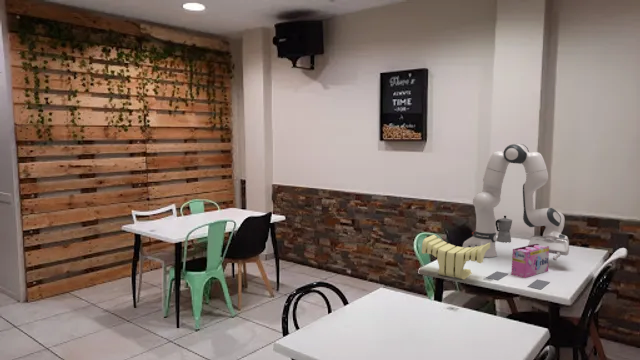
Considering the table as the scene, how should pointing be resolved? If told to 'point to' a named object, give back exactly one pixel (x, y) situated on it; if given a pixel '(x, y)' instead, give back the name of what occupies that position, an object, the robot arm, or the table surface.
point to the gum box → (530, 260)
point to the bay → (535, 284)
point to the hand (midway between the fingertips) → (545, 258)
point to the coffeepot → (504, 229)
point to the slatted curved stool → (453, 256)
